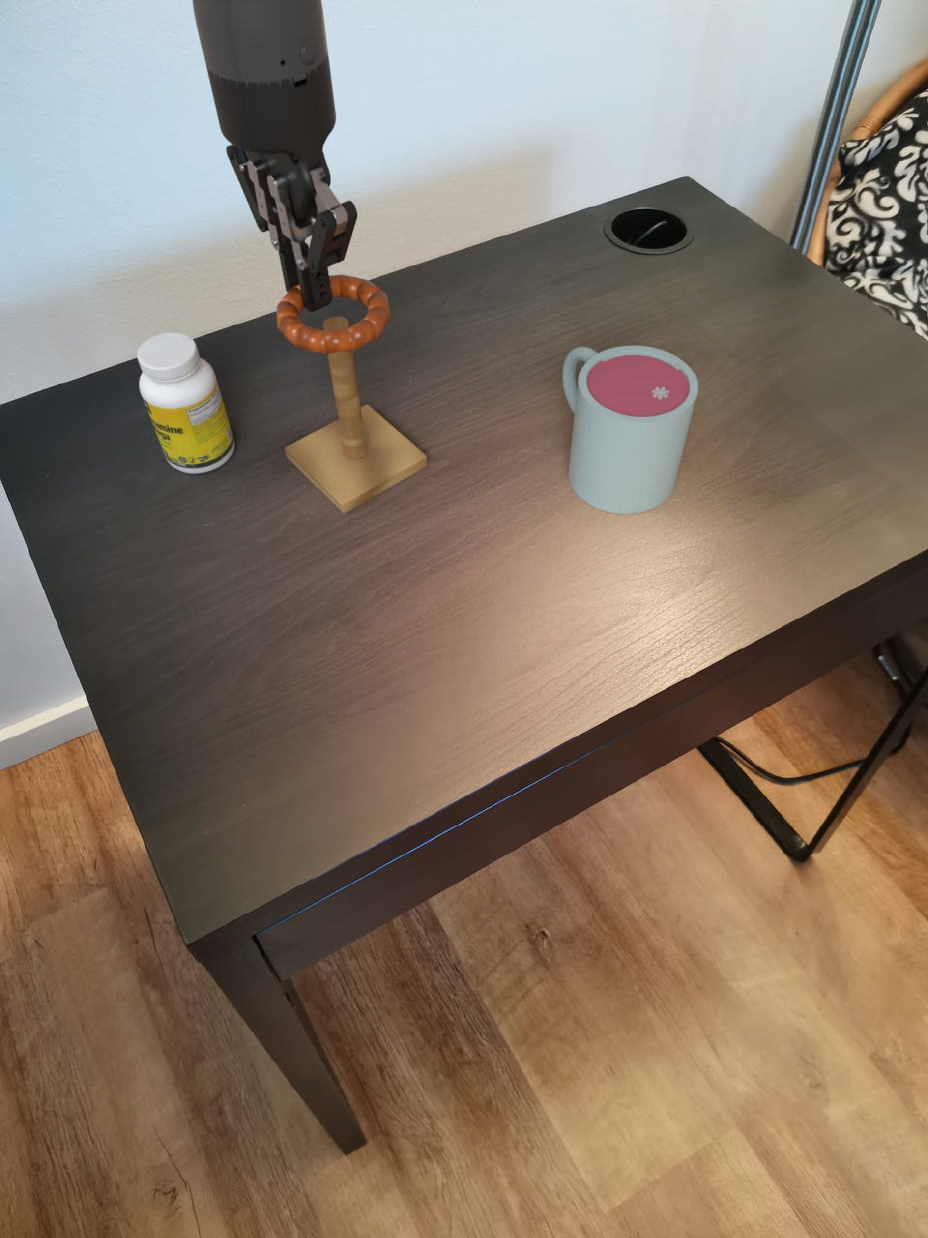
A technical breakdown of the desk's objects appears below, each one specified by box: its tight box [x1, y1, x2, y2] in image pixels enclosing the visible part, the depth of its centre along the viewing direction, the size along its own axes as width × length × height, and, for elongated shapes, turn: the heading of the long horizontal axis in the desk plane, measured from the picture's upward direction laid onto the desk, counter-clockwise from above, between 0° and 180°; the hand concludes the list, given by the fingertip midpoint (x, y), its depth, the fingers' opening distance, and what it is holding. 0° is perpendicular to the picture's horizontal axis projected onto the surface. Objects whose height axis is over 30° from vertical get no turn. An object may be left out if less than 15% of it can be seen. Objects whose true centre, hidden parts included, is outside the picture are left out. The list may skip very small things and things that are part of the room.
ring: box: [276, 274, 392, 355], centre depth 66 cm, size 8×8×2 cm
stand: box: [284, 316, 429, 515], centre depth 72 cm, size 9×9×14 cm
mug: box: [561, 345, 699, 515], centre depth 74 cm, size 14×9×10 cm
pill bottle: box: [136, 331, 235, 475], centre depth 75 cm, size 6×6×11 cm
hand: (310, 298), depth 68 cm, fingers closed on ring, 2 cm apart
